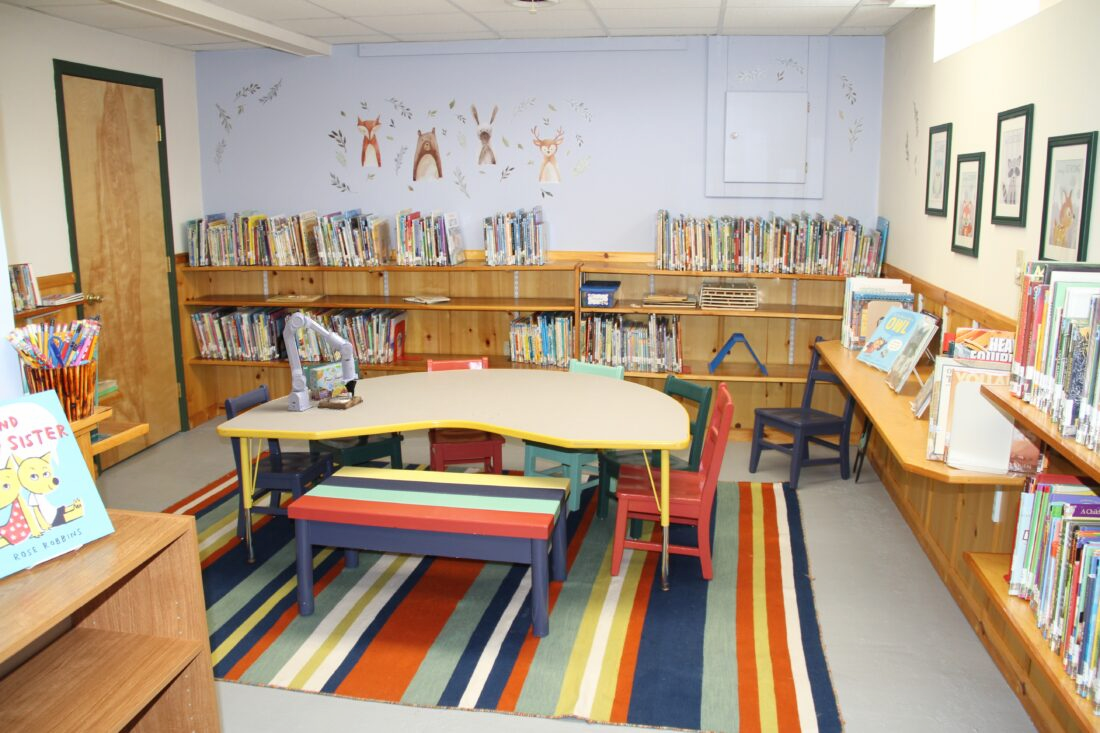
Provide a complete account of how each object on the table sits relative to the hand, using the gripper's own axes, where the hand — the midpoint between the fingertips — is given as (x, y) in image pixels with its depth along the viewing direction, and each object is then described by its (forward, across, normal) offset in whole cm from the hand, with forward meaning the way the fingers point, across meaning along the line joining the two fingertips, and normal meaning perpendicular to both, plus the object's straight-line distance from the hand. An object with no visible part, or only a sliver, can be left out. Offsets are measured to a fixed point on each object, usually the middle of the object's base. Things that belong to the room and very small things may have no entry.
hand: (351, 396), depth 407 cm
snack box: (+4, +15, +17) cm, 23 cm away
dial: (+2, -3, +4) cm, 5 cm away
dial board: (+3, -3, +5) cm, 6 cm away
